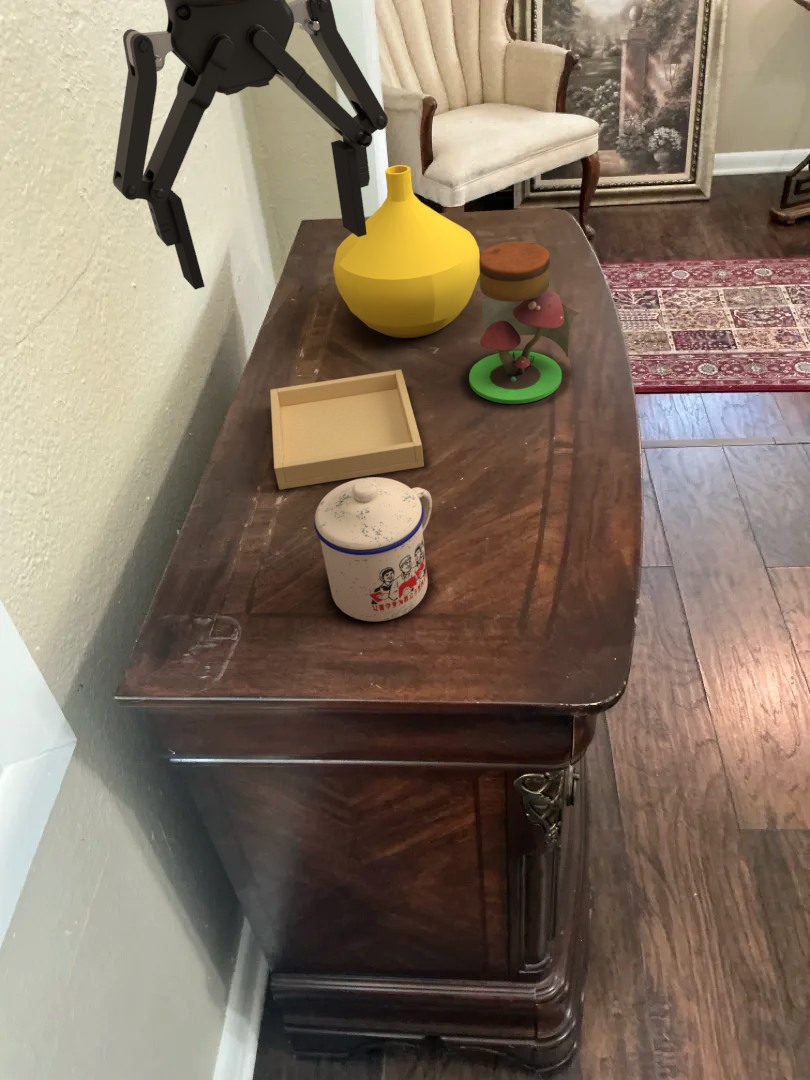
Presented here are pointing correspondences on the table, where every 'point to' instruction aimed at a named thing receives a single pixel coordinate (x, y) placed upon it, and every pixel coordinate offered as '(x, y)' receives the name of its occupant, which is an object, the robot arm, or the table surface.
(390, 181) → the vase
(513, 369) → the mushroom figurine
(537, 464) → the table surface
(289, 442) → the wooden tray
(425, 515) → the teacup with lid
